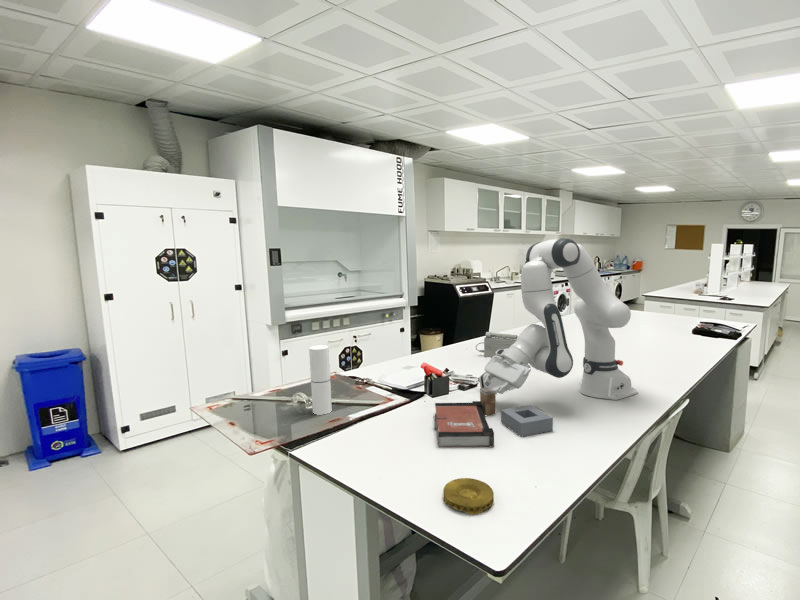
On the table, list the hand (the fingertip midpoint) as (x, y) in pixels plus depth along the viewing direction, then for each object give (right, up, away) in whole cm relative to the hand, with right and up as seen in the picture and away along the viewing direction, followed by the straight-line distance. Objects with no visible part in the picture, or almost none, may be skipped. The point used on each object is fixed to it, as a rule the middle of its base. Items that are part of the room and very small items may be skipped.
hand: (492, 388), depth 154 cm
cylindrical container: (-63, -10, +6) cm, 64 cm away
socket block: (+9, -10, -12) cm, 18 cm away
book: (-13, -12, -12) cm, 21 cm away
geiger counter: (+19, +1, +75) cm, 78 cm away
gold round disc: (-17, -16, -51) cm, 56 cm away
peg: (-1, -9, +1) cm, 9 cm away
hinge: (+8, -6, +26) cm, 27 cm away
